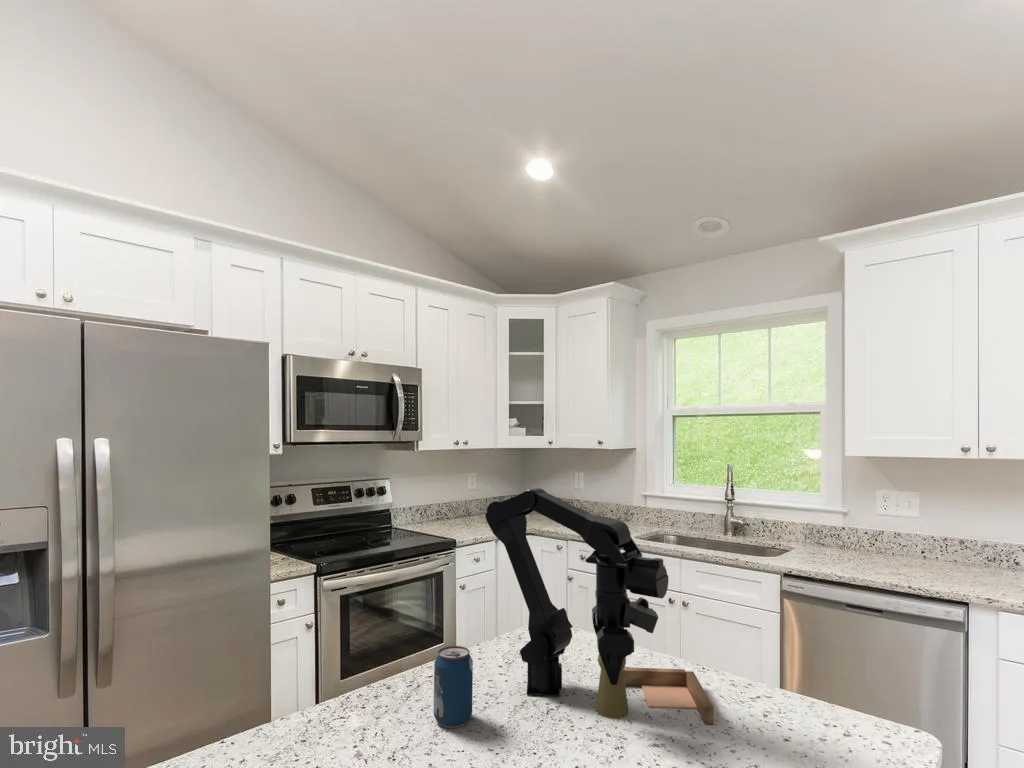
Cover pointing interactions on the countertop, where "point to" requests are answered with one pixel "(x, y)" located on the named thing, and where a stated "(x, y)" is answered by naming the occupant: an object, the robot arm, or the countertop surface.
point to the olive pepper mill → (611, 694)
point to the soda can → (453, 686)
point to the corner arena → (671, 689)
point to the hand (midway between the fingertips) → (611, 674)
